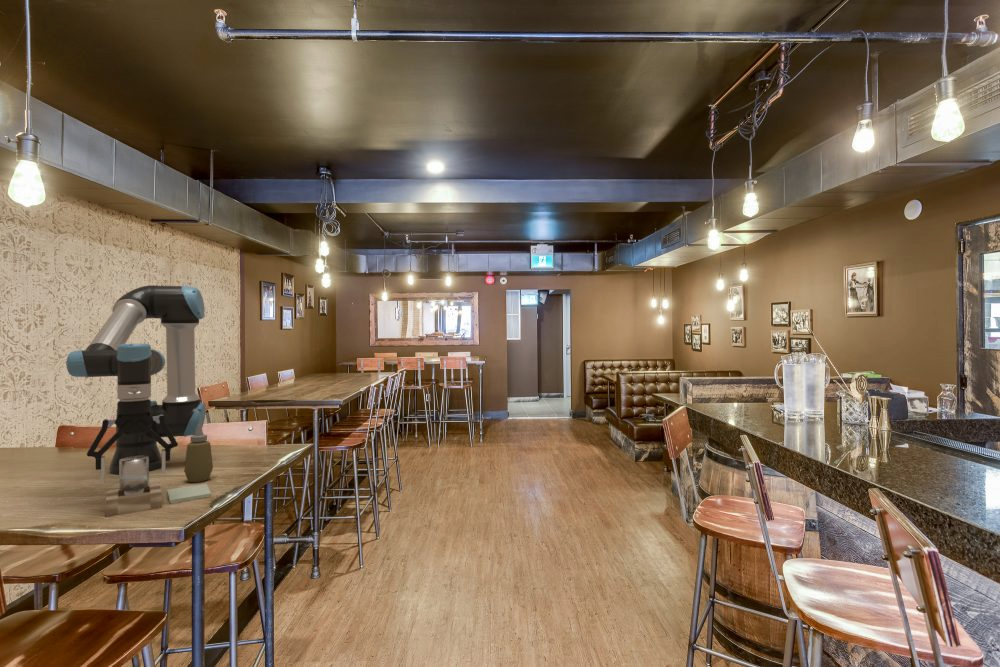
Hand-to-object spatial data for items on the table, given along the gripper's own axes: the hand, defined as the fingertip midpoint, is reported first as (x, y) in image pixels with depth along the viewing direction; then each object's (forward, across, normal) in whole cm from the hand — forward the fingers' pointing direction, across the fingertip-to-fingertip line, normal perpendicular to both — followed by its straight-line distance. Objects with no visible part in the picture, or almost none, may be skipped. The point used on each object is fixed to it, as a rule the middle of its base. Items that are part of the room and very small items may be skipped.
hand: (134, 477), depth 138 cm
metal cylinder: (+8, 0, 0) cm, 8 cm away
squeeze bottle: (+8, +17, +18) cm, 26 cm away
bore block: (+8, 0, 0) cm, 8 cm away
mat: (+8, +13, +2) cm, 15 cm away
